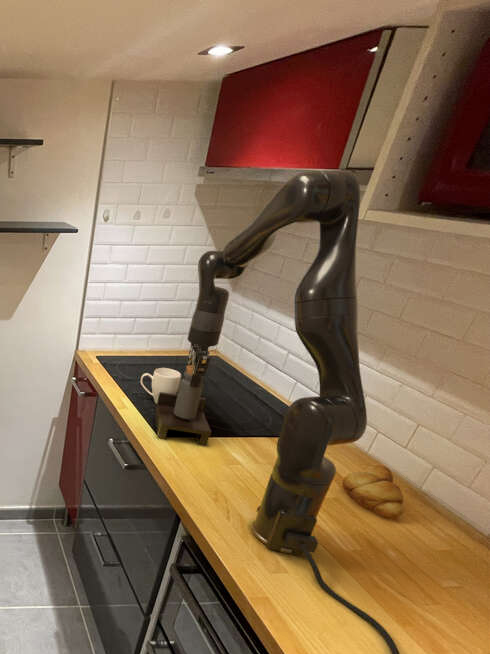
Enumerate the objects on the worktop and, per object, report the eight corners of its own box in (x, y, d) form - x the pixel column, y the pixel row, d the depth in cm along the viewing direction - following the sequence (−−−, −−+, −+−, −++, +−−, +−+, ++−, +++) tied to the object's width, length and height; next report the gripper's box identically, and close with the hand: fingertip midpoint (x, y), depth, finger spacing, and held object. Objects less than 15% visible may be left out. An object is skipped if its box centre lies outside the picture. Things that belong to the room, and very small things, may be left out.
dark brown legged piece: (207, 447, 127) (215, 419, 124) (158, 439, 131) (164, 412, 127) (198, 424, 139) (205, 398, 136) (153, 417, 143) (159, 391, 139)
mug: (173, 400, 155) (180, 369, 150) (175, 410, 148) (182, 379, 143) (137, 394, 159) (142, 364, 154) (136, 403, 152) (142, 373, 147)
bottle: (197, 420, 128) (210, 372, 123) (176, 418, 129) (187, 370, 124) (192, 411, 134) (203, 365, 128) (171, 408, 135) (182, 363, 129)
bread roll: (411, 525, 99) (427, 496, 96) (361, 518, 101) (375, 489, 98) (375, 489, 111) (388, 462, 108) (331, 483, 113) (342, 456, 110)
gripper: (186, 317, 128) (174, 371, 135) (195, 332, 116) (181, 390, 122) (215, 320, 126) (202, 374, 133) (227, 335, 114) (212, 394, 120)
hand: (192, 382), depth 127 cm, fingers closed on bottle, 5 cm apart
